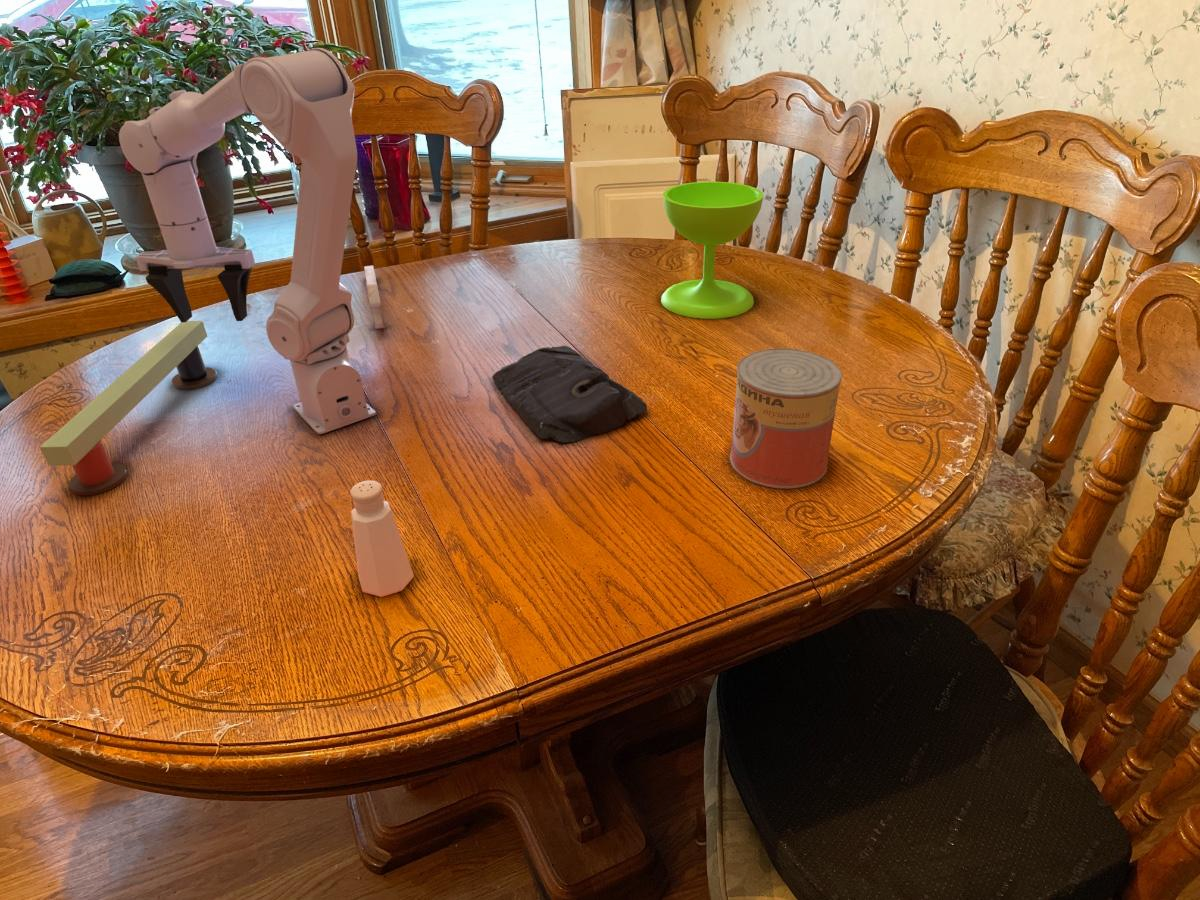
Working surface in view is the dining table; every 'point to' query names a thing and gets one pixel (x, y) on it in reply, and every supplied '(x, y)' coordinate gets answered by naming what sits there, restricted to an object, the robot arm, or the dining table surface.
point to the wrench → (374, 297)
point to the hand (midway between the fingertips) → (214, 318)
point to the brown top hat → (193, 372)
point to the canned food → (784, 417)
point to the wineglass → (710, 244)
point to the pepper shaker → (377, 542)
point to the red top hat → (96, 473)
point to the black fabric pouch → (565, 395)
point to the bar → (121, 396)
